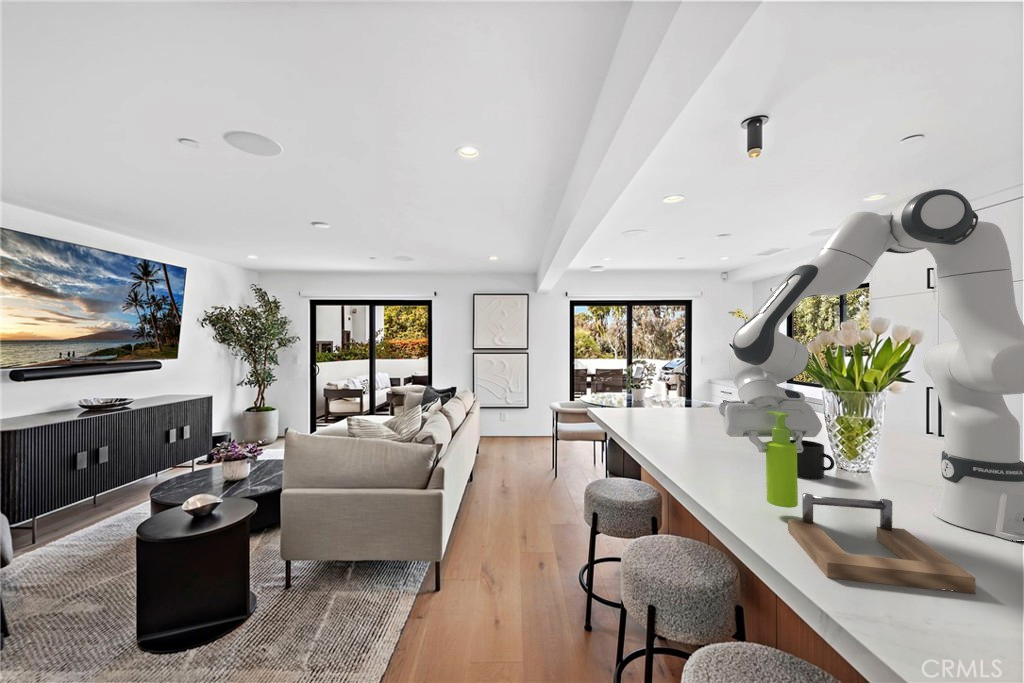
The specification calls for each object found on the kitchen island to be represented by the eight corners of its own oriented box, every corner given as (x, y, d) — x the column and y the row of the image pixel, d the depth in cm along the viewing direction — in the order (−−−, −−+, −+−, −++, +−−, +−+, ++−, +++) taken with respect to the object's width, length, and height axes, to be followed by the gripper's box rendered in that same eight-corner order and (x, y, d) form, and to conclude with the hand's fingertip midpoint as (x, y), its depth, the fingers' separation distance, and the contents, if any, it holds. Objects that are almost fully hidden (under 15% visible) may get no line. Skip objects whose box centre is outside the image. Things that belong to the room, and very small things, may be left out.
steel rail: (888, 527, 86) (889, 499, 86) (894, 531, 85) (894, 502, 85) (800, 519, 90) (801, 492, 90) (804, 523, 88) (804, 496, 88)
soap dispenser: (783, 495, 103) (782, 409, 102) (804, 507, 96) (802, 414, 96) (758, 496, 102) (757, 410, 102) (777, 508, 95) (775, 415, 95)
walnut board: (903, 541, 86) (903, 528, 86) (975, 593, 68) (975, 577, 68) (787, 531, 91) (787, 519, 91) (827, 577, 73) (827, 562, 73)
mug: (828, 484, 119) (828, 451, 119) (779, 473, 129) (779, 442, 128) (839, 477, 125) (839, 445, 125) (792, 467, 134) (792, 438, 134)
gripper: (719, 393, 107) (735, 443, 97) (810, 392, 104) (836, 444, 95) (713, 408, 111) (728, 458, 102) (801, 408, 109) (824, 459, 99)
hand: (781, 451), depth 98 cm, fingers closed on soap dispenser, 6 cm apart
